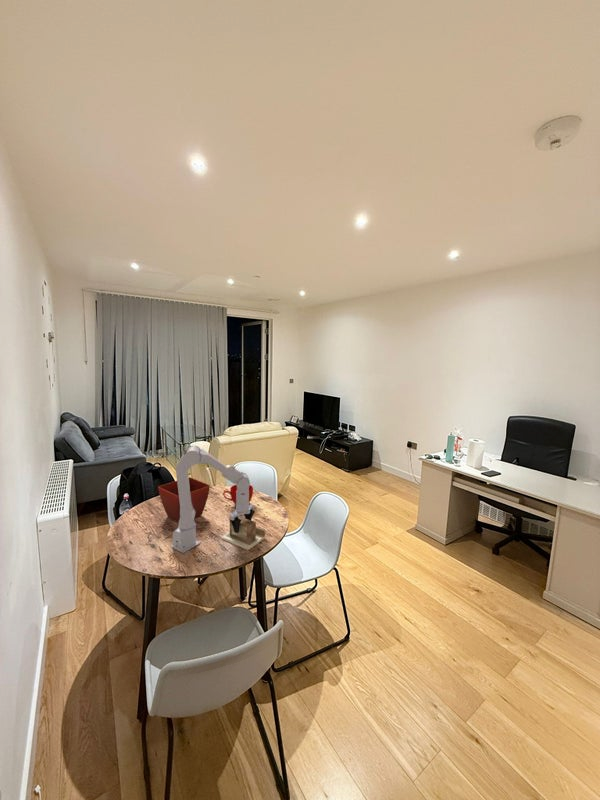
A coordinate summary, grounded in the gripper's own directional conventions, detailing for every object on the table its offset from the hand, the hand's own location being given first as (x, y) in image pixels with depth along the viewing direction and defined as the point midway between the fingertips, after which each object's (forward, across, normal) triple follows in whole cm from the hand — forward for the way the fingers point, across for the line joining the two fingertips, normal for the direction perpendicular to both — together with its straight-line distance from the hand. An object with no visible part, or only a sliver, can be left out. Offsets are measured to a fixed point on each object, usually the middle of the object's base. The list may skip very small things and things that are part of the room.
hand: (242, 528), depth 149 cm
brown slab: (+4, 0, 0) cm, 4 cm away
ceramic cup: (+5, +27, +27) cm, 39 cm away
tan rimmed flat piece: (+5, +1, 0) cm, 5 cm away
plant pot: (+6, 0, +40) cm, 40 cm away
